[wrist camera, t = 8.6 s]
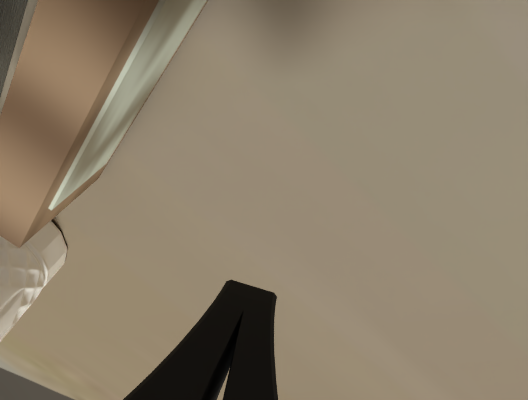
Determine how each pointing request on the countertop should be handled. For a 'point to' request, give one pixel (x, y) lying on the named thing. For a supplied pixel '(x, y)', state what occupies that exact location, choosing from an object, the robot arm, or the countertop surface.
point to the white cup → (27, 272)
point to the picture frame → (78, 98)
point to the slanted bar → (9, 32)
